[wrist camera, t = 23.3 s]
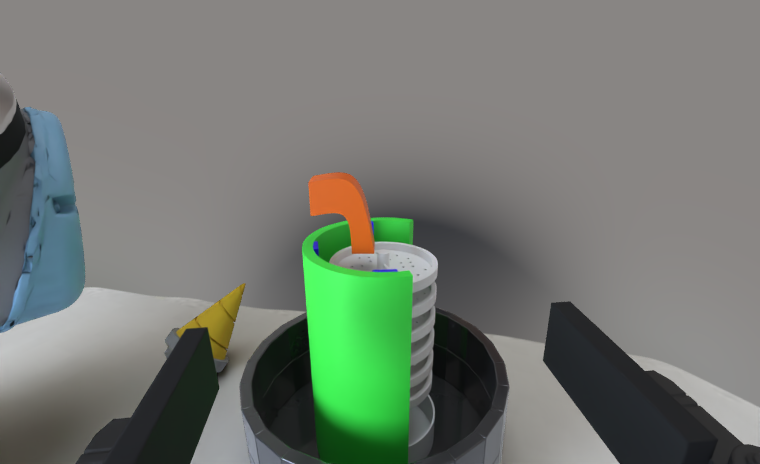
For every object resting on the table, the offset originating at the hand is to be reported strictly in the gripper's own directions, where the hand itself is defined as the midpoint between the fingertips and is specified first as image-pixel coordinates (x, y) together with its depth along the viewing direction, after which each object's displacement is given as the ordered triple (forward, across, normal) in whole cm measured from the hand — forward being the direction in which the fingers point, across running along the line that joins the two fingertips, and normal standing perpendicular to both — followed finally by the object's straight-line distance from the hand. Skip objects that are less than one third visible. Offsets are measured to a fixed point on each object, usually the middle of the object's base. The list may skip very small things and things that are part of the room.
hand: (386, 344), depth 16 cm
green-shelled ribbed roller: (+8, 0, -13) cm, 16 cm away
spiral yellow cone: (+18, -14, -14) cm, 27 cm away
